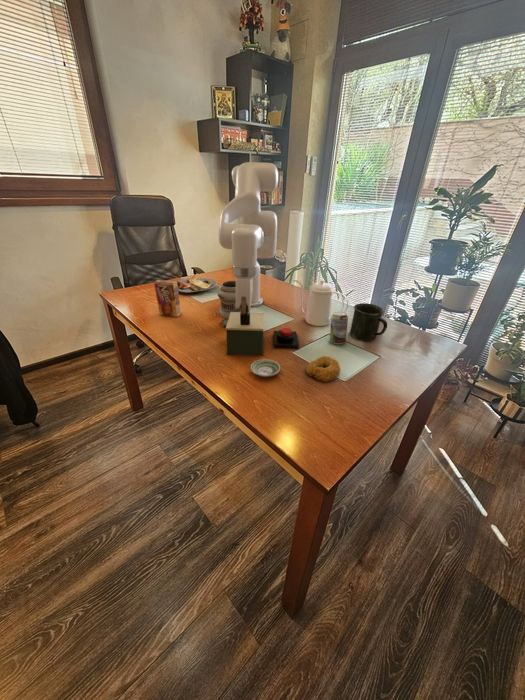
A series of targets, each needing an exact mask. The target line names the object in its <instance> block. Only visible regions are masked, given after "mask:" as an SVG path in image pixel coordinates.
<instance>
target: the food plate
mask: <svg viewBox="0 0 525 700" xmlns="http://www.w3.org/2000/svg"><path fill="white" fill-rule="evenodd" d="M176 281H177V286H178V292H180V293H199V292H203V291H206V290H210V289H213V288H215V287H217V281H216V280H213V279H210V278H205V277H196V276H195V275H194V276H192V277H189V278H183V279H179V280H176Z"/></svg>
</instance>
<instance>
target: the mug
mask: <svg viewBox="0 0 525 700" xmlns="http://www.w3.org/2000/svg"><path fill="white" fill-rule="evenodd" d="M353 309H354V311H353V316H352V320H351V326H350V330H349V332H350V336H351V337H352V338H354V339H355V340H358V341H362V342H372V341H375V339H376V338H377V336H382V335H383V334H385V332H386V331H387V329H388V322H387V321H386V319H384V318H382V316H383V314H384V312H385V310H384V308H382V307H381V306H379V305H377V304H373V303H366V302H362V303H361V302H360V303H356V304H355V305H354V306H353ZM381 323H382V325H383V327H382V329H381V331H380V332H379V328H380V324H381Z"/></svg>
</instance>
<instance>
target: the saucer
mask: <svg viewBox="0 0 525 700" xmlns="http://www.w3.org/2000/svg"><path fill="white" fill-rule="evenodd" d="M250 371H251V372H252V373H253V374H254V375H256V376H258V377H261V378H272V377H274V376H276V375H278V374H279V373H280V371H281V365H280V364H279V363H278V362H277V361H275V360H273V359H268V358H266V359H265V358H261V359H258V360H257V359H256V360H254V361H253V362H252V363H251V364H250Z"/></svg>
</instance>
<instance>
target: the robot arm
mask: <svg viewBox="0 0 525 700" xmlns="http://www.w3.org/2000/svg"><path fill="white" fill-rule="evenodd" d="M231 179H232V183H233V186H234V187H235V191H234V198H233V199H232V200H230V202H228V203H227V204H226V206H224V209H223V210H222V211H221V214H220V216H219V223H218V225H219V226H218V242H219V244H220V246H221V247H222V248H223V249H225V250H231V262H232V263H231V264H232V277H233V278H234V279H235V281H236V308H237V309H238V308H239V307H240V309H241V313H240V324H241V325H250V313H251V312H250V309H251V307H257V306H260V305H262V304H263V303H264V299H263V298H262V297H261V265H260V263H259V262H258V259H272V258H274V257H275V256H276V252H277V243H278V242H277V240H278V216H277V214H276V213H275V211H272V210H261V192H275V191H276V190H277V188H278V185H279V184H278V183H279V171H278V168H277V166H276V164H275V163H272V162H261V161H260V162H259V161H258V162H256V161H255V162H253V161H248V162H243V163H241V164H240V165H235V166H234V167H233V168H232V170H231ZM238 219H240V223H233V222H234V221H235V220H238Z"/></svg>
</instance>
